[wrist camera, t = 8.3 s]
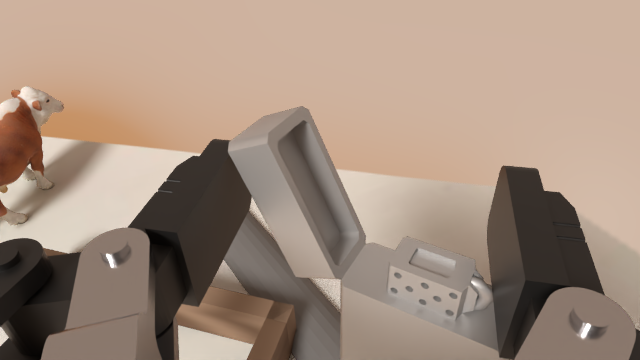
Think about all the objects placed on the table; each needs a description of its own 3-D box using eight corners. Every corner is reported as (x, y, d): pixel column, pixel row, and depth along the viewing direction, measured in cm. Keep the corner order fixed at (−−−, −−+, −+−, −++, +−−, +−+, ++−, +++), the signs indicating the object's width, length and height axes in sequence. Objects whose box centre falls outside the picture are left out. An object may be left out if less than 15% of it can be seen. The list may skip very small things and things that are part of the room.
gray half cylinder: (239, 202, 39) (236, 185, 38) (396, 378, 26) (398, 361, 25) (192, 223, 37) (187, 206, 36) (336, 424, 24) (335, 407, 23)
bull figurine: (93, 155, 45) (61, 77, 40) (-4, 257, 34) (-64, 168, 29) (52, 152, 46) (16, 75, 41) (-55, 252, 35) (-122, 164, 30)
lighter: (491, 395, 13) (575, 169, 9) (475, 450, 12) (563, 223, 7) (286, 300, 16) (265, 92, 12) (257, 338, 15) (220, 123, 10)
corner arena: (297, 336, 28) (293, 305, 26) (242, 479, 22) (232, 451, 20) (46, 274, 33) (28, 244, 31) (-55, 377, 27) (-85, 348, 25)
